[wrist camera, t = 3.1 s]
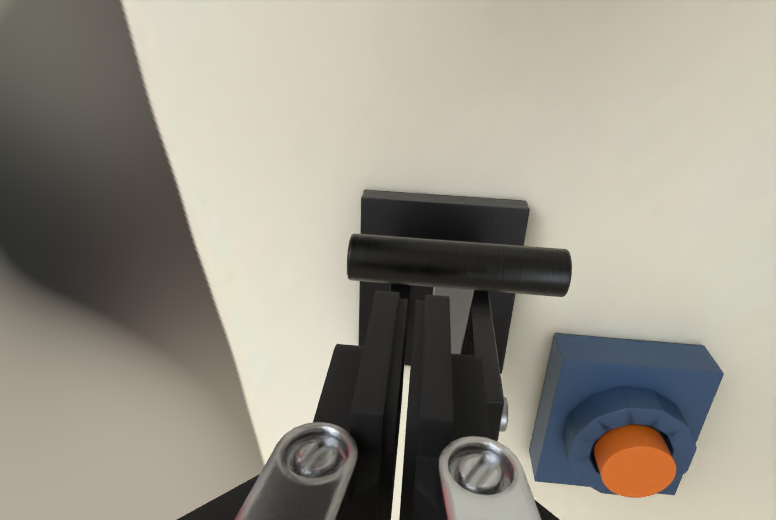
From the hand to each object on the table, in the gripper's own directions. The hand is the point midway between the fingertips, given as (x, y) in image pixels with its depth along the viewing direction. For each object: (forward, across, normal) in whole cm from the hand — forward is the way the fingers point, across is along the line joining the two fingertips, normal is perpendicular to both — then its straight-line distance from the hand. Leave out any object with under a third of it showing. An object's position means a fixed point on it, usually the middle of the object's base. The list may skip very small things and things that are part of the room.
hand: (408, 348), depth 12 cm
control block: (+19, -13, +16) cm, 28 cm away
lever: (+7, -1, +4) cm, 8 cm away
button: (+15, -13, +17) cm, 26 cm away
